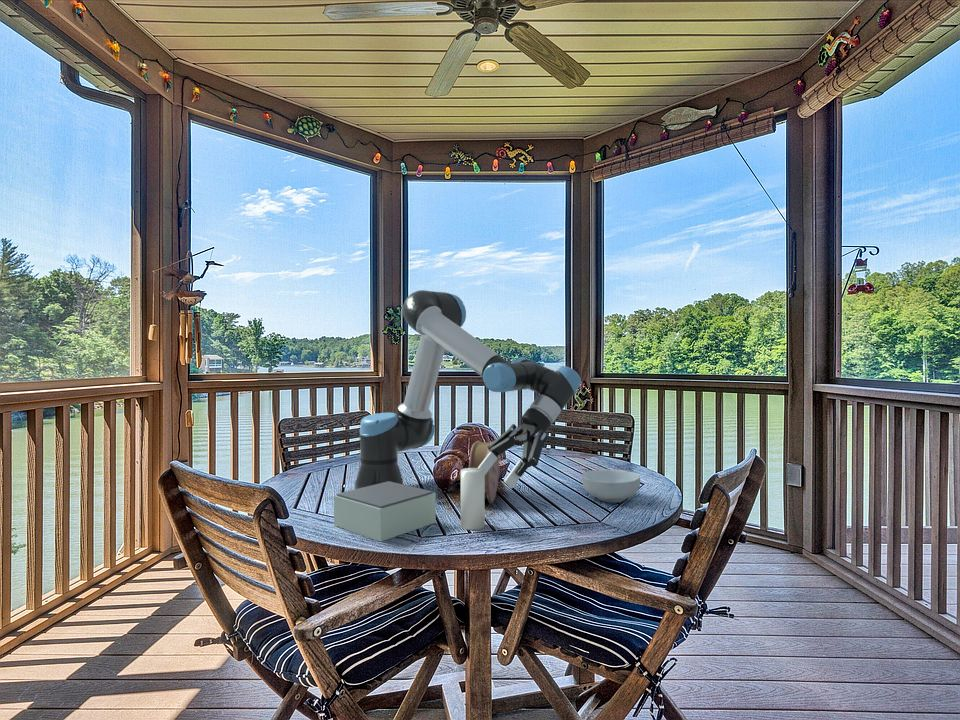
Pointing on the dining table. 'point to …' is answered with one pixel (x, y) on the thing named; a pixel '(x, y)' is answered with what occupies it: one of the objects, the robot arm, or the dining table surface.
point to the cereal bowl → (611, 484)
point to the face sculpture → (492, 476)
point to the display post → (472, 498)
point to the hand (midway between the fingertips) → (492, 479)
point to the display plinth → (384, 510)
